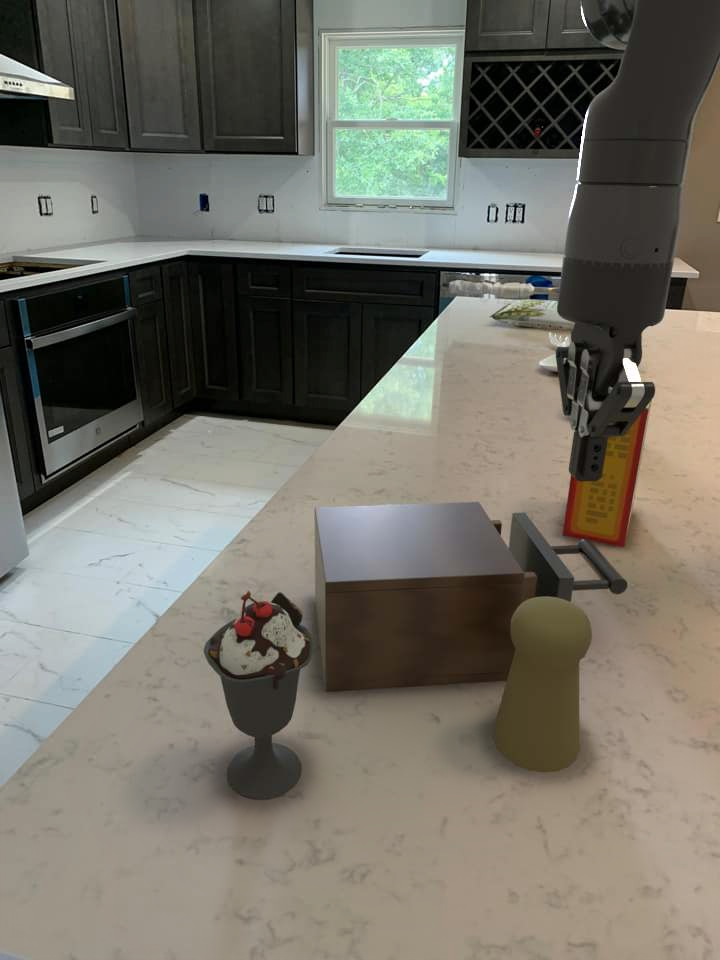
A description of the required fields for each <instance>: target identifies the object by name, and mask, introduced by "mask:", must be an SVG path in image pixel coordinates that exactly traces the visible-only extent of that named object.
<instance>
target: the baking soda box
mask: <svg viewBox="0 0 720 960" xmlns="http://www.w3.org/2000/svg"><path fill="white" fill-rule="evenodd" d="M652 401H653V399H652V400H651V401H650V403H649V404H648V405H647V407H646V408H645V409H644V411H643V412H642V413H641V415H640V416H639V417H638V419H637V420H636V421H635V423H634V424H633V425H632V427H631V428H630V429H629V431H628V432H627V433H626V435H625V436H620V437H609V438H608V442H607V448H606V454H605V460H604V466H603V472H602V477H601V478H600V479H599V480H598V481H577V480H576V479H575V478H574V477H573V476H572V475H571V474H570V480H569V486H568V494H567V501H566V508H565V515H564V521H563V529H562V536H563V537H564V536H565V537H570V538H574V539H579V540H584V539H588V540H591V541H592V542H593V543H594V542H595V543H599V544H606V545H610V546H615V547H620V548H625V546H626V540H627V536H628V532H629V527H630V523H631V519H632V514H633V508H634V503H635V497H636V493H637V486H638V480H639V474H640V470H641V464H642V458H643V451H644V447H645V441H646V435H647V431H648V430H647V429H648V423H649V418H650V413H651V407H652Z"/></svg>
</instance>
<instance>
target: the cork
mask: <svg viewBox="0 0 720 960" xmlns="http://www.w3.org/2000/svg"><path fill="white" fill-rule="evenodd" d="M511 639H512V643H513V644H514V646H515V648H516V650H515V654H514V657H513V661H512V664H511V668H510V671H509V675H508V679H507V681H506V682H505V685H504V690H503V693H502V697H501V699H500V704H499V707H498V710H497V714H496V717H495V721H494V725H493V729H492V740H493V743H494V745H495V748H496V749H497V750H498V752H499V753H500V754H501V755H502V756H503V757H504V758H505V759H507V761H509V762H510V763H512V764H514V765H516V766H517V767H520V768H523V769H526V770H528V771H533V772H539V773H552V772H559V771H561V770H564V769H567V768H569V767H570V766H572V764H574V763H575V762H576V761H577V760H578V757H579V754H580V661H582V659H583V658H585V657H586V655H587V652H588V651H589V648H590V646H591V644H592V641H593V640H592V639H593V633H592V625H591V621H590V619H589V617H588V615H587V614H586V612H585V611H584V609H582V608H580V606H579V605H577V604H575V603H573V602H572V601H571V602H569V601H567V600H564V599H560V598H557V597H548V596H546V597H535V598H531V599H528V600H526V601H525V602H523V603H522V604H521V605H520V606H519V607H518V608H517V609H516V611H515V612H514V614H513V617H512V619H511Z"/></svg>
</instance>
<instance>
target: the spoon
mask: <svg viewBox="0 0 720 960" xmlns="http://www.w3.org/2000/svg"><path fill="white" fill-rule="evenodd" d="M548 338H549V341H550V343H551V344H552V345H553V346H554V347H555V348H556V349H557V348H558V347H568V346H569V345H570V343H571V339H570V337H569V336H566V337H565V338H564V341H563V337H562V335H560V336H559V338H558V335H557V334H556V333H555V335H553V333H552V332H551V331H550V332H549V334H548ZM538 365H539V366H541V367H542V368H544V369H546V370H548V371H550V372H555V373H558V370H557V362H556V353H554V354H552V355H550V356H548V357H545V358H543V359H541V360H540V361H539V362H538Z"/></svg>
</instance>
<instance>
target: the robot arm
mask: <svg viewBox="0 0 720 960" xmlns="http://www.w3.org/2000/svg"><path fill="white" fill-rule="evenodd" d="M580 9H581V16H582V20H583V23H584V25H585V27H586V29H587V30H588V32H589V34H590V35H591V36H592V37H593V38H594V40H595V41H597V42H599V43H600V44H602V45H603V46H606V47H608V48H610V49H615V50H621V51H623V54H622V58H621V62H620V64H619V69H618V72H617V74H616V76H615V78H614V79H613V81H612V82H611V83H610V84H609V85H608V86H607V87H605V88H604V89H603V90H602V91H600V92H599V93H598V94H597V95H595V97H593V99H592V100H591V101H590V103H589V105H588V107H587V110H586V114H585V118H584V122H583V128H582V136H581V143H580V152H579V158H578V167H577V175H576V184H575V188H574V193H573V199H572V202H571V205H570V209H569V214H568V217H567V225H566V232H565V233H566V234H565V240H564V250H563V255H562V266H561V273H560V280H559V281H560V282H559V287H558V288H559V289H558V295H557V297H558V298H557V301H558V304H557V312H558V314H559V316H560V317H562V318H563V319H565V320H568V321H570V322H574V323H575V324H574V327H573V330H571V333H570V345H569V346H568V347H558V348H557V347H556V350H555V354H556V362H557V370H558V372H557V376H558V382H559V390H560V391H559V392H560V399H561V406H562V412H563V415H564V416H565V417H570V420H569V426H570V429H571V430H572V431H573V435H572V444H571V448H570V449H571V450H570V457H569V463H568V464H569V465H568V472H569V474H570V476H571V475H572V476H573V477H574V478H575V479H576V480H577V481H598V480H599V479H600V478H601V477H602V472H603V466H604V460H605V454H606V448H607V442H608V438H609V437H620V436H625V435H626V433H627V432H628V431H629V429H630V428H631V427H632V425H633V424H634V423H635V421H636V420H637V419H638V417H639V416H640V415H641V413H642V412H643V411H644V409H645V408H646V407H647V405H648V404H649V403H650V401H651V400H652V401H653V398H655V394H656V386H655V383H654V382H653V381H642V379H641V378H642V377H641V375H640V372H639V369H638V367H639V366H640V364H641V362H642V359H643V342H642V341H643V332H644V331H645V330H646V329H647V328H648V327H654V326H657V325H658V324H660V323H661V322H662V321H663V319H664V317H665V313H666V307H667V302H668V296H669V290H670V284H671V279H672V275H673V274H672V273H673V268H674V263H675V258H676V252H677V246H678V242H679V241H678V240H679V235H680V230H681V223H682V208H683V207H682V205H683V204H682V203H683V193H684V191H683V190H684V186H683V185H684V184H685V181H686V180H685V179H686V174H687V168H688V164H689V163H688V161H689V156H690V152H691V147H692V143H691V142H692V140H693V133H694V125H695V120H696V116H697V114H698V112H699V110H700V107H701V105H702V103H703V100H704V99H705V97H706V94H707V92H708V90H709V88H710V86H711V83H712V82H713V78H714V76H715V74H716V71H717V68H718V66H719V64H720V0H580Z"/></svg>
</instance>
